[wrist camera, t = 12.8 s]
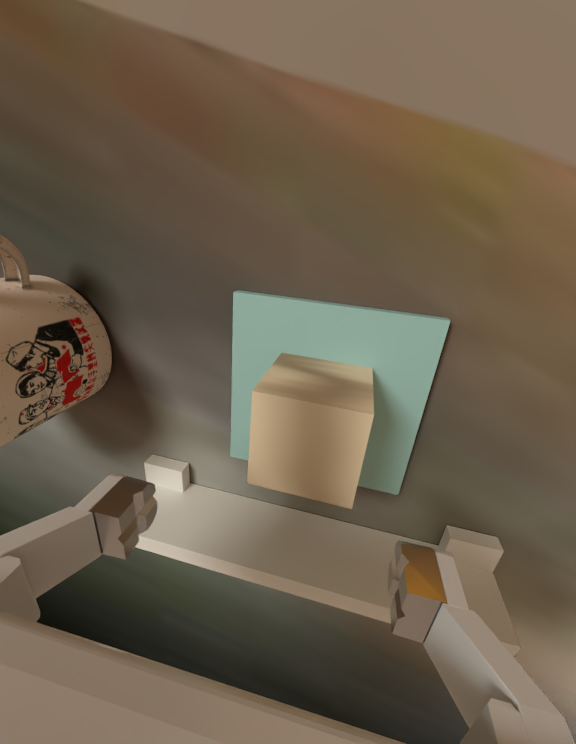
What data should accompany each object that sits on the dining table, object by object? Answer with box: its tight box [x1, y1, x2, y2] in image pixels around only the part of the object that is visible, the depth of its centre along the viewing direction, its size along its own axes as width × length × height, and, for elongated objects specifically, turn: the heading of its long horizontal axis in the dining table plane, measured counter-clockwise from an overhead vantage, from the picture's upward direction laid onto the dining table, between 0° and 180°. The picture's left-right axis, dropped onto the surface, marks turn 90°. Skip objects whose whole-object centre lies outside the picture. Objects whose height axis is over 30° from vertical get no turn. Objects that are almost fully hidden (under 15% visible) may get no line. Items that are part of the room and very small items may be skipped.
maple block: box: [247, 353, 374, 509], centre depth 16 cm, size 5×5×5 cm
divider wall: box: [135, 454, 521, 657], centre depth 21 cm, size 24×5×5 cm, turn 85°
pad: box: [231, 290, 450, 495], centre depth 19 cm, size 11×11×1 cm
